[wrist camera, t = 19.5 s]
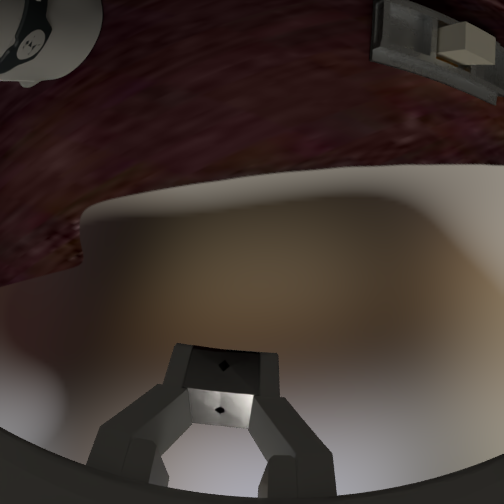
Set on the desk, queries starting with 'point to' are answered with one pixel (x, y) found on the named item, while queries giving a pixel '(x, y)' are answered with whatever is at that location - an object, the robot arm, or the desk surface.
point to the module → (465, 45)
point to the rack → (428, 49)
